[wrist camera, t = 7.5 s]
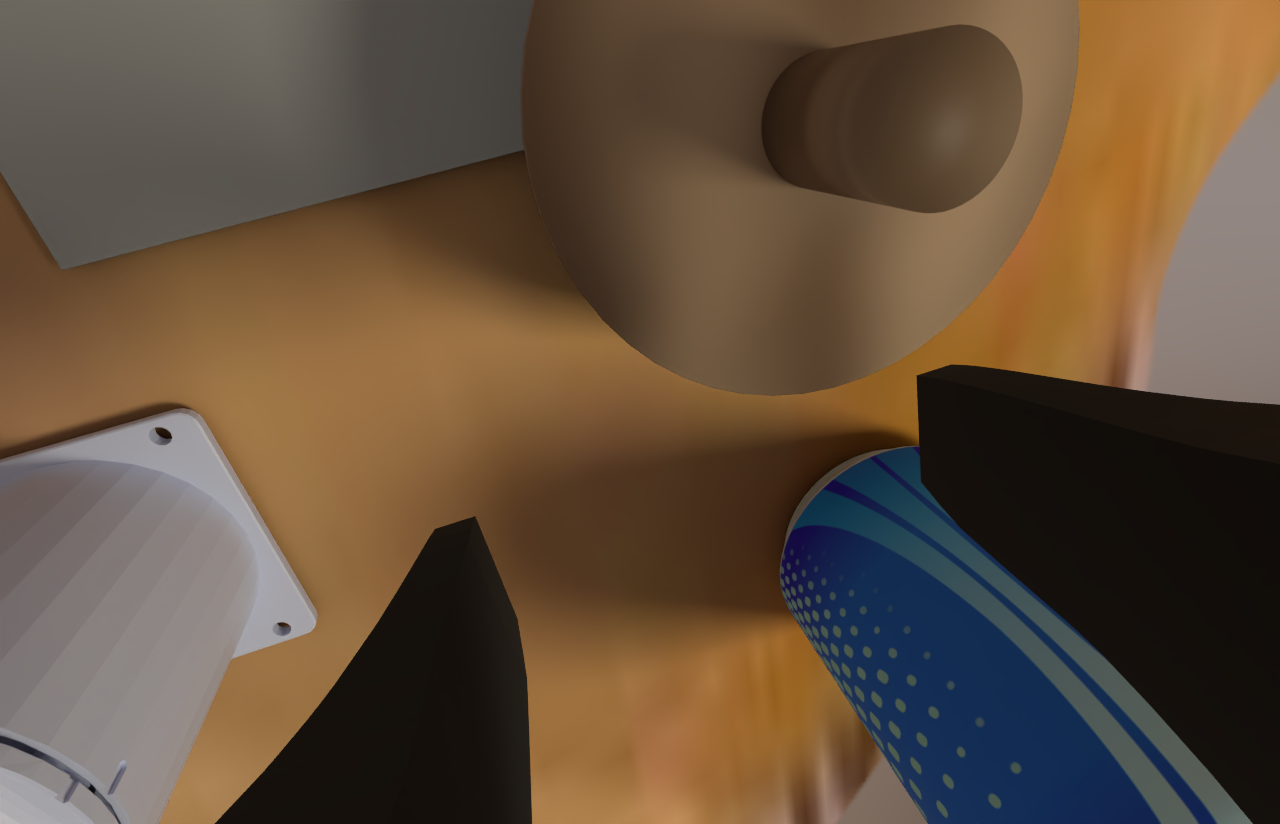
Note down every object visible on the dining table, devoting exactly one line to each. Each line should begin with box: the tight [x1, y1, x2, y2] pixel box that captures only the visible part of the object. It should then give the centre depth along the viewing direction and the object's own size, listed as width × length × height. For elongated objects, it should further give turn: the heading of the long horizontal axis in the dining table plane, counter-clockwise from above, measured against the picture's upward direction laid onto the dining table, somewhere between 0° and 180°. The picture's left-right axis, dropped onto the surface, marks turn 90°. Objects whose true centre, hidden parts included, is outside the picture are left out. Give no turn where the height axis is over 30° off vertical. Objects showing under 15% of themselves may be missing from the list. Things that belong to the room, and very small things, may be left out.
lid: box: [520, 0, 1080, 396], centre depth 12 cm, size 12×12×5 cm
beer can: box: [780, 446, 1253, 824], centre depth 18 cm, size 8×8×16 cm
